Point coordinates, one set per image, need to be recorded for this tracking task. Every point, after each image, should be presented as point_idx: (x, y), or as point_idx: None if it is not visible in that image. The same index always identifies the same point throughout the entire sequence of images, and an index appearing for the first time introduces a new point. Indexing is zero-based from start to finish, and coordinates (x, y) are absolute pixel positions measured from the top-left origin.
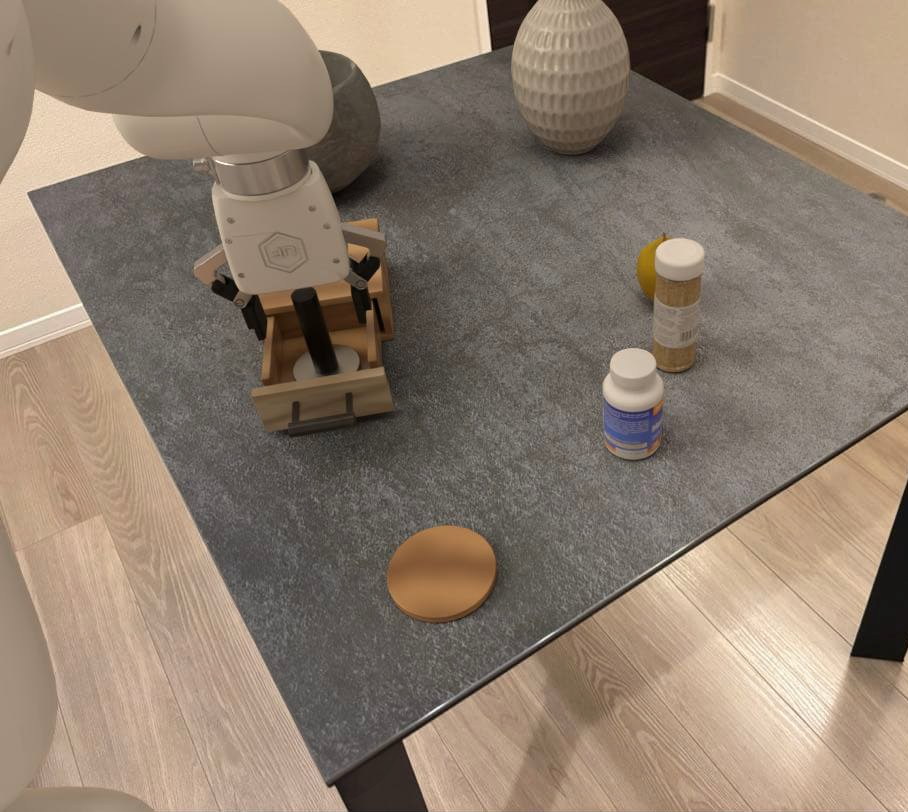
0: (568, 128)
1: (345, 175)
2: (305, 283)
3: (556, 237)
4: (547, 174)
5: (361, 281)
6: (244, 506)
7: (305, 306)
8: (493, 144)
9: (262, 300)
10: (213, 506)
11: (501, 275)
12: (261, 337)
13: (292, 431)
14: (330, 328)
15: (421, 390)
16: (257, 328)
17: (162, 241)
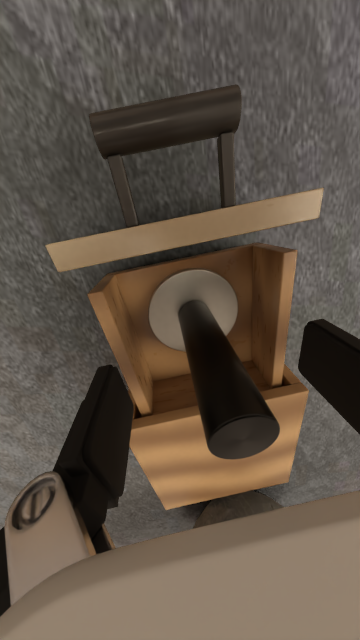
0: None
1: (210, 522)
2: (264, 599)
3: (15, 479)
4: None
5: (23, 519)
6: (298, 4)
7: (234, 400)
8: (112, 532)
9: (291, 408)
10: (349, 15)
11: (48, 442)
12: (319, 323)
13: (229, 86)
14: None
15: (69, 289)
16: (342, 337)
17: (340, 450)
